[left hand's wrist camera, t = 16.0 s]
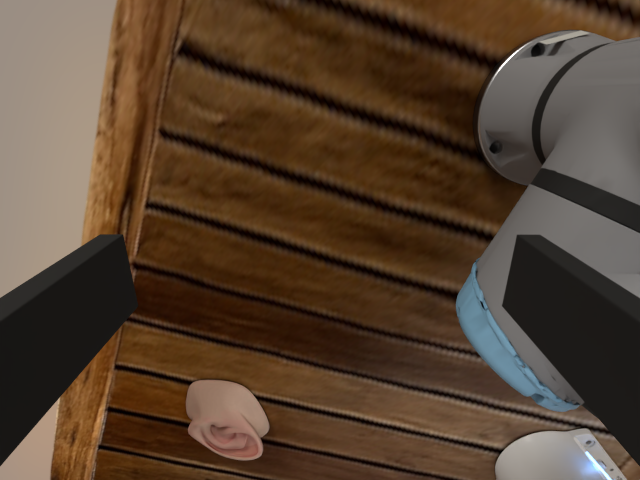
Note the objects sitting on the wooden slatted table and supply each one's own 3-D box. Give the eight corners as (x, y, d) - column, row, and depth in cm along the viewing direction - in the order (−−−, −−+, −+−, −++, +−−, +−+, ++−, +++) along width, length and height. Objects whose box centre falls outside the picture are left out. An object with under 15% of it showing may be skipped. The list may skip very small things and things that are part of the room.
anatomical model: (163, 405, 50) (245, 391, 49) (174, 384, 53) (250, 371, 52) (196, 472, 54) (271, 461, 53) (204, 448, 58) (274, 437, 57)
